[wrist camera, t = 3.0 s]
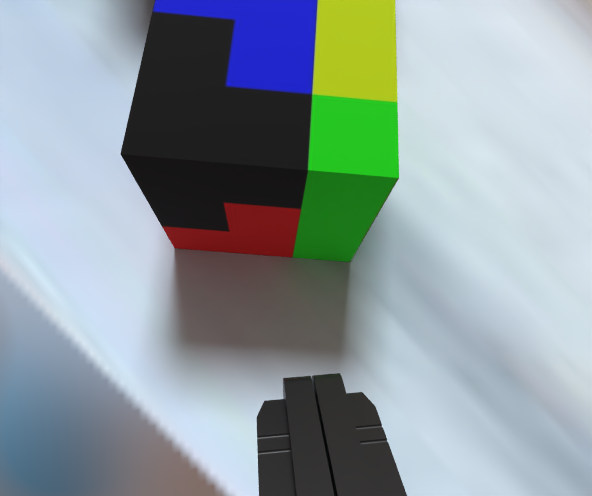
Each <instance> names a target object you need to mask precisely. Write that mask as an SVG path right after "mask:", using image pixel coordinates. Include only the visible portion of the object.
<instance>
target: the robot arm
mask: <svg viewBox="0 0 592 496" xmlns="http://www.w3.org/2000/svg"><path fill="white" fill-rule="evenodd" d="M283 396H284V399H280V400H269V401H264V403H263V405H262V407H261V409H260V411H259V414H258V416H257V443H258V475H259V496H407V495H406V492H405V489H404V486H403V483H402V480H401V478H400V475H399V472H398V469H397V466H396V463H395V461H394V458H393V455H392V452H391V449H390V446H389V444H388V442H387V438H386V435H385V432H384V430H383V428H382V424H381V421H380V418H379V415H378V413H377V410H376V407H375V406H374V405H373V403H372V402H371V401H370V400H369V399H368V398H367V397H366V396H365V395H364V394H363V393H362V392H359V393H347V394H346V391H345V387H344V384H343V380H342V377H341V375H340V373H338V374H326V375H314V376H312V379H311V376H304V377H292V378H283Z"/></svg>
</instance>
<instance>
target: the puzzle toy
mask: <svg viewBox="0 0 592 496" xmlns="http://www.w3.org/2000/svg"><path fill="white" fill-rule="evenodd" d="M121 156H122V157H123V159H124V161H125V163H126V164H127V166H128V168H129V170H130V171H131V173H132V175H133V177H134V178H135V180H136V182H137V184H138V185H139V187H140V189H141V191H142V192H143V194H144V196H145V197H146V199H147V201H148V203H149V204H150V206H151V208H152V210H153V211H154V213H155V215H156V217H157V218H158V220H159V222H160V224H161V225H162V227H163V229H164V231H165V232H166V234H167V236H168V238H169V239H170V241H171V243H172V244H173V246H174V248H178V249H190V250H203V251H216V252H229V253H242V254H255V255H268V256H281V257H294V258H307V259H319V260H332V261H345V262H350V261H351V259H352V258H353V256H354V254H355V253H356V251H357V249H358V247H359V246H360V244H361V242H362V241H363V239H364V237H365V235H366V234H367V232H368V230H369V229H370V227H371V225H372V223H373V222H374V220H375V218H376V216H377V215H378V213H379V211H380V210H381V208H382V206H383V204H384V203H385V201H386V199H387V198H388V196H389V194H390V192H391V191H392V189H393V187H394V186H395V184H396V182H397V180H398V179H399V158H398V112H397V66H396V19H395V0H155V3H154V8H153V12H152V17H151V21H150V25H149V30H148V34H147V39H146V43H145V48H144V52H143V57H142V61H141V65H140V70H139V74H138V79H137V83H136V88H135V92H134V97H133V101H132V105H131V110H130V114H129V119H128V123H127V128H126V132H125V136H124V141H123V145H122V150H121Z"/></svg>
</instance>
